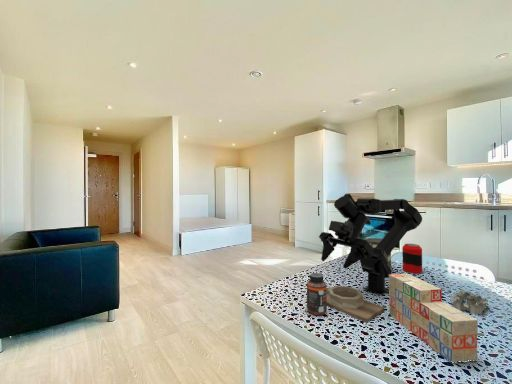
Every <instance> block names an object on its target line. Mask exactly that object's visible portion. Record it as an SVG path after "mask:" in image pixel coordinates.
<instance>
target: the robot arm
mask: <svg viewBox="0 0 512 384" xmlns="http://www.w3.org/2000/svg"><path fill="white" fill-rule="evenodd" d="M333 206H334V207H335V210H337V211H338V212H339V214H340V215H341V216H342V217H343V218H344V219H347V220H345V221H344V222H342V221H337V220H335V221H334V220H331V221H330V223H329V227H328V230H329V231H331V232H333V233H334V235H335V236H336V237H335V236H334V235H333V234H332V233H331V232H327V231H322V232H321V233H320V234H319V235H318V238H319V239H320V241H321V243H322V245H323V246H322V247H323V248H322V252H321V259H320V260H321V262H325V261H326V260H327V259H328V257H330V256H331V254H332V253H333V252H334V251H335V247H337V246H338V245H340V246H343V247H344V246H345V247H349V248H350V251H349V254H348V255H347V257H346V259H345V261H344V263H343V267H342V268H344V269H348V268H349V267H351V266H352V265H354V264H355V263H357V262H359V263H360V267H361V269H362V272H365V273H367V286H365V287H364V288H363V289H364V290H365V291H369V292H372V293H375V294H378V295H382V296H383V294H385V293H387V292H389V287H386V278H387V279H389V275H390V274H392V271H393V270H392V268H391V269H390V267H389V266H388V265H387V264H388V255H389V254H390V253H391V254H392V251H393V250H394V249H395V248H396V246H397V245H398V244H399V243H400V241H401V240H402V239H403V238H404V236H406V234H407V233H408V232H410V231H413V230H415V229H417V228H418V227H419V226H420V225H421V223H423V215H422V214H421V213H420V211H419V210H418V209H417V208H416V207H414V206H413V205H411V204H410V203H409V202H408V200H407V199H404V198H393V199H379V198H378V199H377V198H373V197H372V198H371V197H368V198H367V197H365V198H364V197H358V198H357V199H356V200H355V199H354V198H353V196H352V194H350V193H345V194H344V195H343V196H340V197H339V198H337V199H336V200H335V201H334V204H333ZM391 210H392V211H393V212H392V215H393V216H394V225H393V226H392V227H391V228H390V229H389V231H388V232H387V233H386V234H385V235H384V236H383V238H381V239H382V240H381V241H380V243H379V244H378V245H377V246H376V247H375V248H373V247H372V246H371V245H370V243H369V242H368V241H367V240H366V239H363V238H362V236H363V234H362V231H363V229H364V227H365V225H367V226H370V225H371V224H372V223H371V220H370V217H369V216H367V215H372V216H373V215H376V214H379V213H381V212H382V211H391Z"/></svg>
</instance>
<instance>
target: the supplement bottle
mask: <svg viewBox="0 0 512 384" xmlns="http://www.w3.org/2000/svg"><path fill="white" fill-rule="evenodd" d="M326 289H327V283H326V282H325V280H324V274H322V273H320V272H311V273H310V274H309V279H308V280H307V282H306V310H307V312H308V313H310V314H311V315H314V316H323V315H325V314H326V313H327V310H328V309H327V307H328V306H327V300H326V294H327V293H326Z"/></svg>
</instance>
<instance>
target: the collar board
mask: <svg viewBox="0 0 512 384" xmlns="http://www.w3.org/2000/svg"><path fill="white" fill-rule="evenodd" d="M326 293H327V294H326V300H327V307H329V308H332V309H334V310H336V311H338V312H341V313H343V314H345V315H348V316H350V317H352V318H355V319H356V320H359V321H361V322H364V323H368V322H370V321H371V320H373V319H374V318H376V317H377V316H379V315H380V314H382V313H384V312H385V310H386V309H385V307H384V306H383V305H379V304H376V303H374V302H370V301H367V300H365V299H364V295H363V293H362V292H361V290H360V289H357V288H354V287H351V286H346V285H334V286H332V287H330V286H329V287H326Z"/></svg>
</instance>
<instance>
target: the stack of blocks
mask: <svg viewBox="0 0 512 384" xmlns="http://www.w3.org/2000/svg"><path fill="white" fill-rule="evenodd" d="M388 289H389V291H388V295H389V297H388V298H389V300H388V301H389V305H388V307H389V315H390V316H391V317H392V318H394V319H395V320H396V321H397V322H398V323H399V324H401V325H402V326H403V327H405V328H406V329H407V330H408V331H409V332H411V333H412V334H414V335H415V336H417V337H418V338H419V339H420V340H421V341H423V342H424V343H426V345H428V346H429V347H430V348H431V349H433V350H434V351H435V352H436V353H438V354H439V355H440V354H441V355H442V356H441V357H442V358H444V357H445V358H447V359H448V360H450V361H452V362H457V361H458V362H459V361H468V360H469V361H470V360H477V361H478V332H479V331H478V330H479V329H478V319H477V318H475V317H473V316H472V315H469V314H467V313H465V312H464V311H463V310H458V309H456V308H455V307H453V305H451V304H448V303H446V302H444V301H442V300H443V299H442V296H443V295H442V294H443V293H442V292H443V290H442V288H440V287H439V286H435V285H433V284H432V283H429V282H427V281H426V280H422V279H420V278H418V277H415V275H414V276H413V275H412V274H411V273H391V274H390V275H389V278H388ZM445 358H444V359H445ZM447 359H446V360H447ZM448 360H447V361H448Z"/></svg>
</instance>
